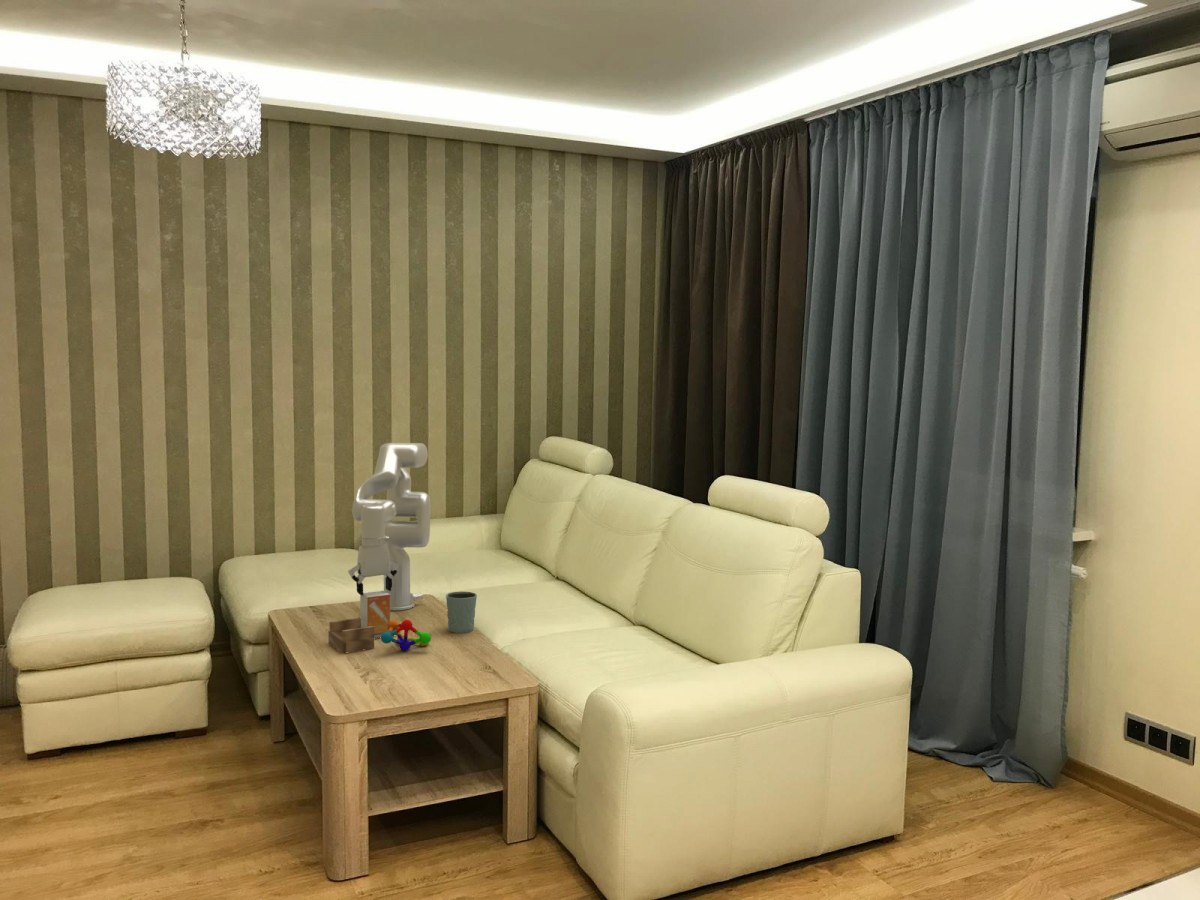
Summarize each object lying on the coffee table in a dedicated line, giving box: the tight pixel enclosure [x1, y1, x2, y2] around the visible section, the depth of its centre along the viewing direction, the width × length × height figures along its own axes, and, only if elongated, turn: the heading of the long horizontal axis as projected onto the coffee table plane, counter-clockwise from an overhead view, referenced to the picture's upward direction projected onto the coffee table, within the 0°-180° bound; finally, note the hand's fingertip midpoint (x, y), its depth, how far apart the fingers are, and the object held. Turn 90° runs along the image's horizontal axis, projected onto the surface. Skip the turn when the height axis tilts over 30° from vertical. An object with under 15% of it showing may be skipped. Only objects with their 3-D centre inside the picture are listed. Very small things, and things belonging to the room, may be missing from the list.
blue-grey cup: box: [445, 591, 478, 634], centre depth 346 cm, size 10×10×12 cm
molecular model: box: [380, 619, 432, 652], centre depth 323 cm, size 15×10×15 cm
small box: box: [359, 590, 391, 634], centre depth 339 cm, size 8×6×13 cm
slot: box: [327, 617, 375, 654], centre depth 326 cm, size 10×13×7 cm
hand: (374, 592), depth 339 cm, fingers open, 9 cm apart
